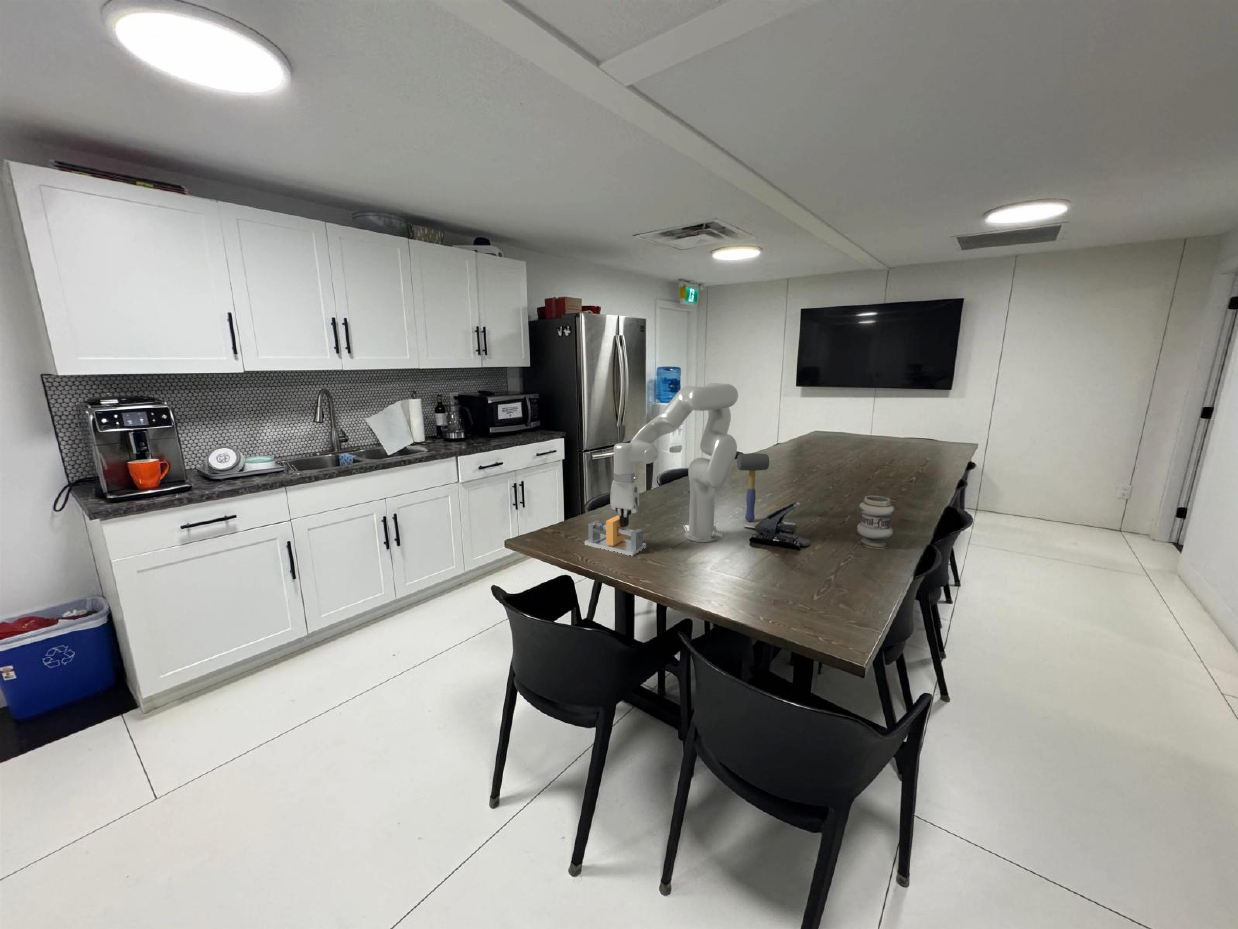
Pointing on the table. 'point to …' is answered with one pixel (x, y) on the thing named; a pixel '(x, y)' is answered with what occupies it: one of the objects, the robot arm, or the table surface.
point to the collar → (613, 531)
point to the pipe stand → (622, 547)
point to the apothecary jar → (875, 521)
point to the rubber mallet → (752, 477)
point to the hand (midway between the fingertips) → (624, 526)
